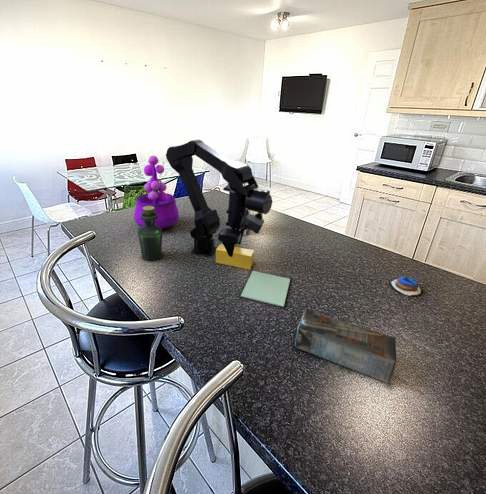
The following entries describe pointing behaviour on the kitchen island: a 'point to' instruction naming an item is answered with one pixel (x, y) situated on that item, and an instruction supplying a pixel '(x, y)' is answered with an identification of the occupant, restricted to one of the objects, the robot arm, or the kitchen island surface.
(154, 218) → the potion bottle
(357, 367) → the beverage carton
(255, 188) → the robot arm
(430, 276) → the kitchen island surface
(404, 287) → the dessert
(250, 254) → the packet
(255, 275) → the mat
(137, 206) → the decorative plant
